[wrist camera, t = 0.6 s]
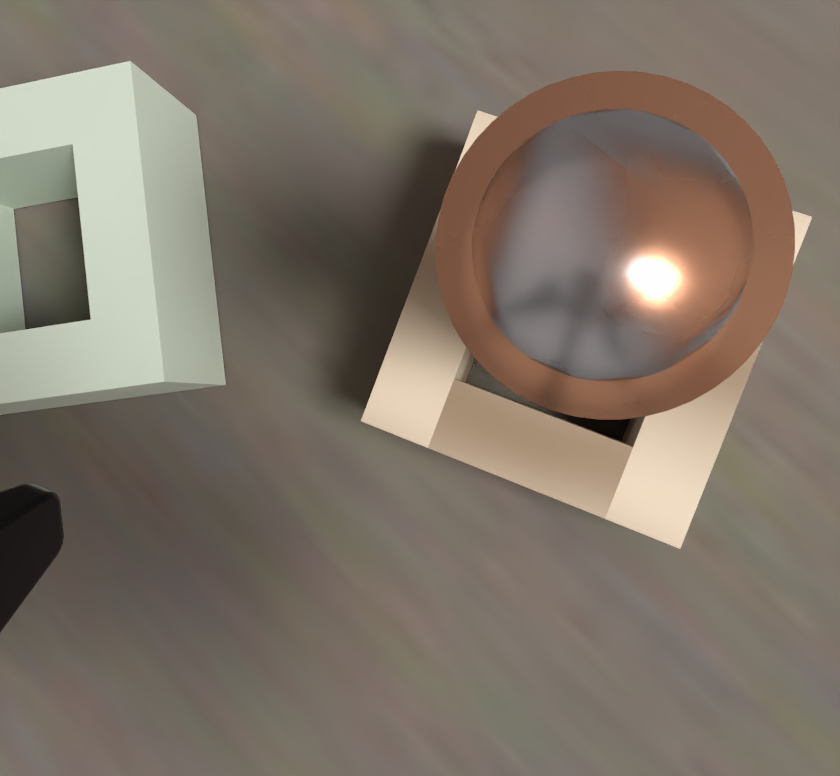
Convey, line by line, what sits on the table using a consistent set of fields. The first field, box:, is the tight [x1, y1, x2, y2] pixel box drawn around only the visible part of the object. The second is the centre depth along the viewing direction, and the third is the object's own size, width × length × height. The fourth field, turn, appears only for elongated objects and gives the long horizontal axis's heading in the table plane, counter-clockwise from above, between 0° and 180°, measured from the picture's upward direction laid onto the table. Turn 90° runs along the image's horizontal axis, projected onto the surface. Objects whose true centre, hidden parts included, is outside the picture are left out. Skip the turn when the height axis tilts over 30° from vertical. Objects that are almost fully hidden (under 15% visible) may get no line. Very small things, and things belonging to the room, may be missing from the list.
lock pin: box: [436, 71, 795, 419], centre depth 16 cm, size 5×5×13 cm
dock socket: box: [0, 61, 226, 415], centre depth 23 cm, size 9×9×4 cm
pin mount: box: [361, 111, 812, 549], centre depth 21 cm, size 9×9×3 cm
